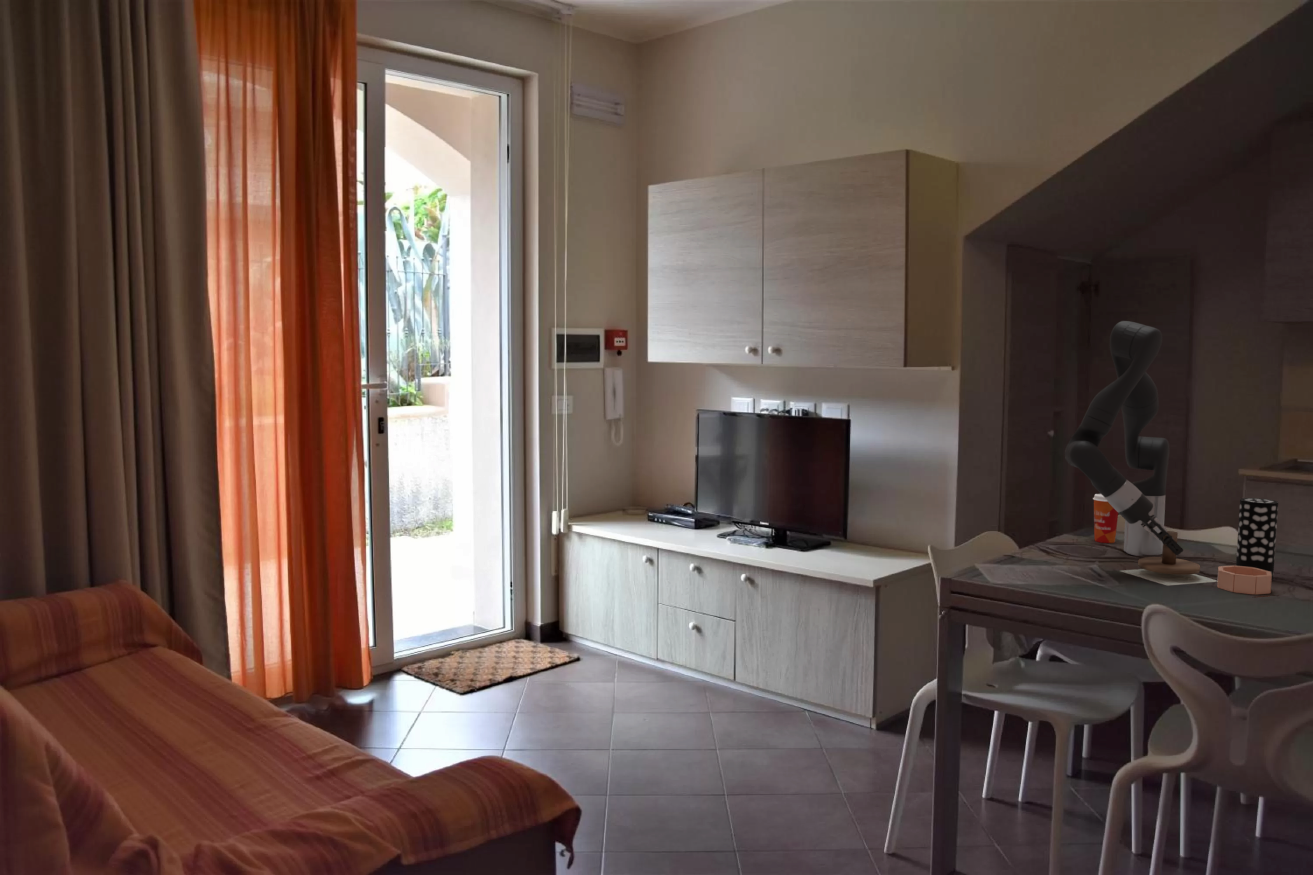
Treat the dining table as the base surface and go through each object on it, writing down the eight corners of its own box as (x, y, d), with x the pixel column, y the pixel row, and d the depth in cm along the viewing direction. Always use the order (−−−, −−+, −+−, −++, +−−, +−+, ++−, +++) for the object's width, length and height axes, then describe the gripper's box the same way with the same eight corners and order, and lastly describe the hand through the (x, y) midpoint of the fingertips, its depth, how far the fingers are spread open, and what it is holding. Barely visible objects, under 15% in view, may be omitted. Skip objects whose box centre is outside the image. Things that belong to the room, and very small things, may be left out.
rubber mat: (1119, 573, 259) (1119, 570, 259) (1169, 569, 263) (1170, 566, 263) (1166, 588, 244) (1167, 585, 244) (1219, 584, 248) (1219, 581, 248)
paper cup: (1085, 539, 303) (1087, 493, 302) (1105, 538, 305) (1108, 492, 304) (1103, 544, 296) (1106, 497, 294) (1124, 543, 298) (1127, 496, 297)
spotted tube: (1227, 575, 257) (1232, 499, 255) (1251, 573, 260) (1256, 497, 258) (1257, 583, 250) (1262, 504, 248) (1280, 580, 253) (1286, 502, 251)
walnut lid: (1125, 563, 258) (1127, 528, 257) (1169, 559, 262) (1172, 525, 261) (1166, 576, 245) (1169, 539, 244) (1213, 572, 249) (1215, 536, 248)
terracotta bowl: (1206, 587, 245) (1207, 567, 245) (1242, 584, 248) (1243, 564, 248) (1244, 598, 235) (1245, 577, 234) (1281, 595, 238) (1282, 574, 237)
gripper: (1145, 495, 247) (1197, 547, 245) (1135, 487, 260) (1184, 535, 258) (1121, 515, 249) (1172, 567, 247) (1112, 506, 262) (1160, 554, 260)
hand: (1178, 550), depth 253 cm, fingers closed on walnut lid, 3 cm apart
